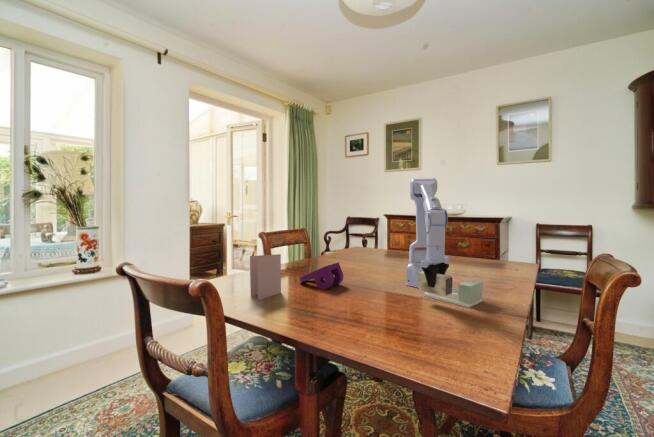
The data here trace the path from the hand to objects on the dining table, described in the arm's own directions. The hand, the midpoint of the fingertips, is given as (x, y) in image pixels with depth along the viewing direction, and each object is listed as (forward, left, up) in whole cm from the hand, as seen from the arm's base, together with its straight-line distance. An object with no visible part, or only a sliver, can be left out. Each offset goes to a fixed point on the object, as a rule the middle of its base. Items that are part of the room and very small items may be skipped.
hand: (434, 285), depth 107 cm
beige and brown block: (0, 0, -2) cm, 2 cm away
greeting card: (-46, -38, -7) cm, 60 cm away
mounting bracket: (-46, -13, -7) cm, 48 cm away
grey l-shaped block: (+1, +11, -7) cm, 13 cm away
